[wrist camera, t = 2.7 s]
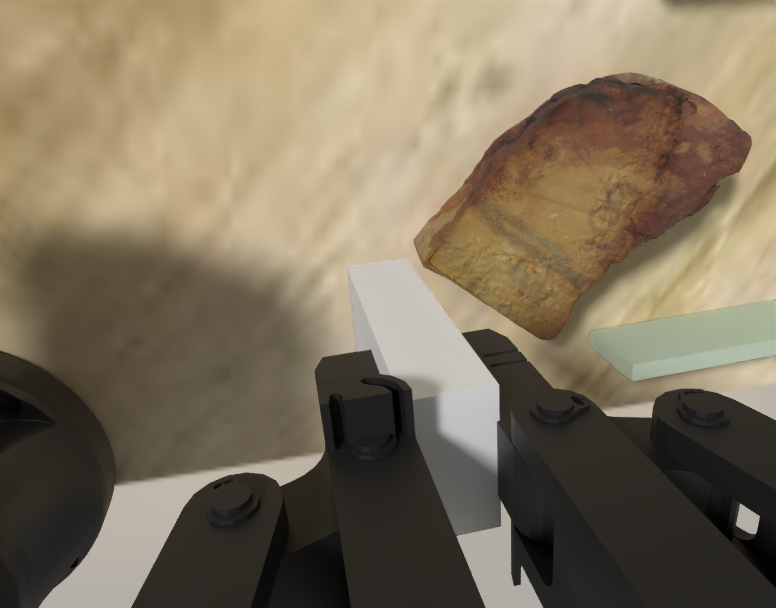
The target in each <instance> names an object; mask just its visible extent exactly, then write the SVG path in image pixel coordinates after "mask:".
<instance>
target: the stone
mask: <svg viewBox="0 0 776 608" xmlns="http://www.w3.org/2000/svg"><path fill="white" fill-rule="evenodd" d="M751 146H752V141H751V137H750V136H749V135H748V134H747V133H746V132H745V131H743V130H742V129H741V128H740V127H739V126H738V125H737V124H736V123H735V122H734V121H733V120H730V119H729V118H728V117H727V116H726V115H725V114H723V113H722V112H721V111H720V110H719V109H718V108H717V107H716V106H714V105H713V104H711V103H710V102H709V101H707V100H706V99H704V98H703V97H701V96H699V95H697V94H694V93H692V92H689V91H686V90H684V89H681V88H678V87H676V86H674V85H672V84H669V83H667V82H665V81H663V80H660V79H655V78H652V77H648V76H645V75H641V74H637V73H621V74H615V75H610V76H606V77H603V78H596V79H594V80H592V81H591V82H590V83H588V84H586V85H584V84H578V85H574V86H571V87H568V88H566V89H563V90H561V91H559V92H557V93H555V94H553V96H552V97H551V98H550V99H549V100H547V101H545V102H544V103H543V104H542V105H540V106H539V107H538V108H537V109H536V110H535V111H534V112H533V113H532V114H531V115H530V116H529V117H527V118H526V119H524V120H523V121H521V122H520V123H518V124H516V125H515V126H513V127H512V128H510V129H508V130H507V131H506V132H505V133H503V134H502V135H501V136H500V137H498V138H497V139H496V140H495V141H494V142H493V143H492V144H491V146H490V147H489V148H488V150H487V151H486V152H485V154H484V156H483V157H482V159H481V161H480V162H479V163H478V164H477V166H476V167H475V169H474V170H473V172H472V174H471V175H470V176H469V177H468V178H467V179H466V181H465V182H464V184H463V186H462V187H461V188H460V189H459V190H458V191H457V192H456V193H455V194H454V195H453V196H452V197H450V198H449V199H448V200H447V202H446V203H445V204H444V205H443V206H442V207H441V210H440V211H439V212H438V213H437V214H436V215H434V216H433V217H432V218H431V219H430V220H429V221H428V222H427V223H426V225H425V226H424V227H423V228H422V230H421V231H420V232H419V234H418V235H417V236H416V238H415V239H414V244H415V247H416V250H417V253H418V255H419V258H420V260H421V262H422V264H423V266H424V267H425V268H427V269H429V270H431V271H433V272H435V273H438V274H440V275H442V276H444V277H446V278H448V279H449V280H451V281H452V282H454V283H455V284H457V285H458V286H460V287H461V288H463V289H464V290H466V291H467V292H469V293H470V294H472V295H473V296H475V297H476V298H478V299H479V300H481V301H482V302H484V303H485V304H487V305H488V306H490V307H492V308H494V309H495V310H497V311H498V312H499V313H501V314H502V315H504V316H505V317H507V318H508V319H510V320H511V321H513V322H514V323H516V324H517V325H518V326H520V327H522V328H524V329H525V330H527V331H528V332H530V333H531V334H533V335H534V336H536V337H537V338H539V339H542V340H551V339H554V338H555V337H556V336H557V335H558V334H559V332H560V330H561V329H562V327H563V325H564V324H565V322H566V320H567V319H568V317H569V316H570V313H571V310H572V307H573V305H574V302H575V301H576V300H577V299H578V298H579V296H580V295H581V294H582V293H583V292H585V290H586V289H587V288H589V287H590V286H591V285H592V284H593V282H596V281H599V279H600V278H602V277H603V275H604V274H605V273H606V271H607V269H608V267H609V266H610V264H611V263H619V262H620V261H621V260H623V259H624V258H625V257H626V256H627V255H628V254H629V253H630V252H632V251H633V250H634V249H636V248H637V247H639V246H641V245H642V244H644V243H645V242H647V241H649V240H650V239H655V238H657V237H658V236H660V235H662V234H663V233H664V232H665V231H666V230H668V229H669V228H671V227H673V225H674V224H675V223H676V222H677V221H681V220H683V219H684V218H685V217H687V216H693V215H694V214H695V213H697V212H698V211H699V210H700V209H701V208H703V207H704V206H705V205H706V204H707V203H708V202H709V201H710V200H711V198H712V196H713V195H714V193H715V191H716V190H717V189H718V188H719V187H720V186H716V183H717V181H719V180H720V179H722V178H724V177H726V176H729V175H732V174H735V173H737V172H740V170H741V168H742V166H743V164H744V162H745V160H746V158H747V156H748V154H749V151H750V149H751Z"/></svg>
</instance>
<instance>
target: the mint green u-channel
mask: <svg viewBox="0 0 776 608" xmlns="http://www.w3.org/2000/svg"><path fill="white" fill-rule="evenodd" d="M589 346H590V347H591V348H592V349H593V350H595V351H596V352H597V353H598V354H599V355H601V356H602V357H603V358H604V359H605V360H607V361H608V362H609V363H610V364H611V365H612V366H614V367H615V368H616V369H617V370H618V371H620V372H621V373H622V374H623V375H624V376H626V377H627V378H628V379H629V380H630V381H637V380H643V379H648V378H654V377H659V376H665V375H670V374H675V373H681V372H686V371H692V370H697V369H702V368H708V367H713V366H719V365H724V364H729V363H735V362H740V361H746V360H751V359H756V358H762V357H767V356H773V355H776V300H770V301H764V302H758V303H752V304H746V305H741V306H735V307H729V308H723V309H717V310H711V311H705V312H699V313H693V314H687V315H681V316H675V317H670V318H664V319H658V320H652V321H646V322H640V323H634V324H628V325H622V326H616V327H610V328H604V329H599V330H593V331H590V337H589Z"/></svg>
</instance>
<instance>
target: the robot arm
mask: <svg viewBox="0 0 776 608" xmlns="http://www.w3.org/2000/svg"><path fill="white" fill-rule="evenodd" d="M347 274H348V283H349V292H350V300H351V309H352V317H353V326H354V334H355V343H356V351H357V352H353V353H346V354H340V355H334V356H328V357H323V358H322V359H321V361H320V363H319V364H318V366H317V368H316V369H315V378H316V384H317V391H318V398H319V404H320V411H321V418H322V424H323V431H324V438H325V452H324V454H323V456H322V459H321V460H320V461H319V462H318V464H317V465H316V466H315V467H314V468H313V469H312V470H310V471H309V472H308V473H306V474H305V475H303V476H301V477H300V478H298V479H296V480H294V481H292V482H290V483H287V484H285V485H283V486H279V484H278V483H277V482H276V480H274V479H272V478H270V477H268V476H266V475H264V474H255V473H241V474H235V475H228V476H226V477H223V478H221V479H218V480H216V481H214V482H211V483H209V484H208V485H206V486H205V487H204V488H202V489H201V490H199V491H198V492H197V493H195V494H194V495H193V496H192V498H191V499H190V500H189V502H188V503H187V504H186V505H185V507H184V508H183V510H182V512H181V514H180V516H179V518H178V519H177V521H176V523H175V525H174V527H173V529H172V531H171V533H170V535H169V537H168V538H167V540H166V542H165V544H164V546H163V548H162V550H161V552H160V554H159V556H158V558H157V560H156V561H155V563H154V565H153V567H152V569H151V571H150V573H149V575H148V577H147V578H146V581H145V583H144V584H143V586H142V588H141V590H140V592H139V594H138V596H137V598H136V600H135V601H134V603H133V605H132V607H131V608H485V606H484V603H483V601H482V598H481V596H480V593H479V591H478V588H477V586H476V583H475V581H474V579H473V576H472V574H471V571H470V569H469V566H468V564H467V562H466V559H465V557H464V554H463V552H462V549H461V547H460V545H459V542H458V539H457V537H456V536H458V535H462V534H467V533H472V532H476V531H481V530H486V529H491V528H495V527H500V526H501V501H502V503H503V504H504V507H505V508H506V510H507V512H508V514H509V516H510V518H511V574H512V579H513V583H514V586H516V585H520V584H521V566H522V567H523V569H524V570H525V572H526V575H527V577H528V578H529V580H530V582H531V584H532V586H533V588H534V590H535V592H536V594H537V596H538V598H539V600H540V602H541V604H542V606H543V608H776V420H774V419H772V418H770V417H768V416H766V415H764V414H761V413H760V412H758V411H756V410H754V409H752V408H750V407H748V406H746V405H744V404H742V403H740V402H738V401H736V400H734V399H731V398H729V397H726V396H723V395H721V394H718V393H714V392H709V391H704V390H702V389H678V390H674V391H669V392H665V393H664V394H662V395H660V396H659V397H657V398H656V400H655V403H654V406H653V413H652V418H636V417H632V418H631V417H610V416H606V414H605V413H604V412H603V411H602V410H601V409H600V408H599V407H598V406H597V405H596V404H595V403H593V402H592V401H591V400H589V399H588V398H586V397H585V396H583V395H580V394H577V393H575V392H572V391H569V390H561V389H554V388H553V387H552V386H551V385H550V384H549V383H548V382H547V381H546V380H545V379H544V377H543V376H542V375H541V374H540V373H539V372H538V371H537V370H536V369H535V367H534V366H533V365H532V364H531V363H530V362H529V361H528V362H527V359H526V358H525V356H524V355H523V354H522V353H521V352H518V349H517V348H516V346H515V345H514V344H513V343H512V342H511V341H510V340H509V339H508V338H507V337H505V336H503V335H501V334H499V333H497V332H495V331H493V330H490V329H484V330H478V331H472V332H465V333H460V331H459V330H458V328H457V327H456V326H455V324H454V323H453V322H452V320H451V319H450V318H449V316H448V315H447V314H446V312H445V311H444V310H443V308H442V307H441V305H440V304H439V303H438V301H437V300H436V299H435V297H434V296H433V295H432V293H431V292H430V291H429V289H428V288H427V287H426V285H425V284H424V283H423V281H422V280H421V278H420V277H419V276H418V274H417V273H416V272H415V270H414V269H413V268H412V266H411V265H410V264H409V262H408V261H407V260H406V258H400V259H393V260H385V261H378V262H371V263H364V264H357V265H350V266H347ZM114 483H115V468H114V460H113V455H112V451H111V448H110V445H109V442H108V439H107V437H106V435H105V433H104V431H103V429H102V427H101V425H100V424H99V422H98V420H97V419H96V418H95V416H94V415H93V413H92V412H91V411H90V410H89V408H88V407H87V406H86V405H85V404H84V403H83V402H82V401H81V399H80V398H79V397H78V396H76V395H75V394H74V393H73V392H72V391H71V390H70V389H69V388H67V387H66V386H65V385H63V384H62V383H61V382H59V381H58V380H57V379H55V378H54V377H52V376H51V375H49V374H47V373H46V372H44V371H42V370H41V369H39V368H37V367H35V366H33V365H31V364H29V363H26V362H24V361H22V360H20V359H17V358H15V357H12V356H9V355H7V354H3V353H0V608H38V607H39V606H40V604H41V603H42V601H43V600H44V599H45V598H46V597H47V595H48V594H49V593H50V592H51V591H52V589H53V588H55V587H56V586H57V585H58V584H60V583H61V582H62V581H63V580H64V579H65V578H67V577H68V576H69V575H70V574H71V573H72V572H73V570H74V569H75V568H76V567H77V566H78V565H79V564H80V563H81V562H82V560H83V559H84V558H85V556H86V555H87V553H88V552H89V550H90V549H91V547H92V545H93V544H94V542H95V540H96V538H97V537H98V534H99V532H100V530H101V527H102V525H103V522H104V519H105V516H106V514H107V511H108V508H109V505H110V502H111V499H112V495H113V490H114ZM740 503H741V504H742V505H744V506H745V507H747V508H748V509H750V510H751V511H753V512H755V513H756V514H758V515H759V516H760V520H759V524H758V530H757V533H756V535H755V534H749V533H747V532H746V531H744V530H742V529H740V528H739V527H737V526H736V522H737V517H738V511H739V505H740Z"/></svg>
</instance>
